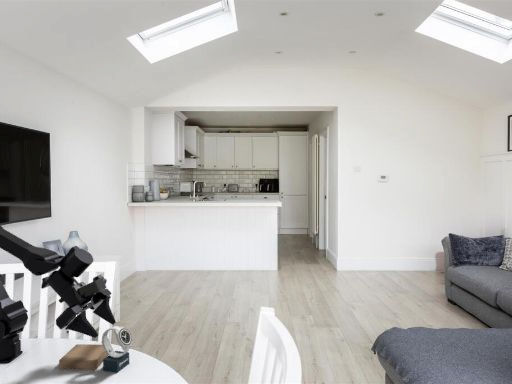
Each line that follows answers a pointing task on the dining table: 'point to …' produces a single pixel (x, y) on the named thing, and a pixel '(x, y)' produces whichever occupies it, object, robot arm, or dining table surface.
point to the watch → (116, 358)
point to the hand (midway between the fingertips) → (106, 329)
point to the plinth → (83, 357)
